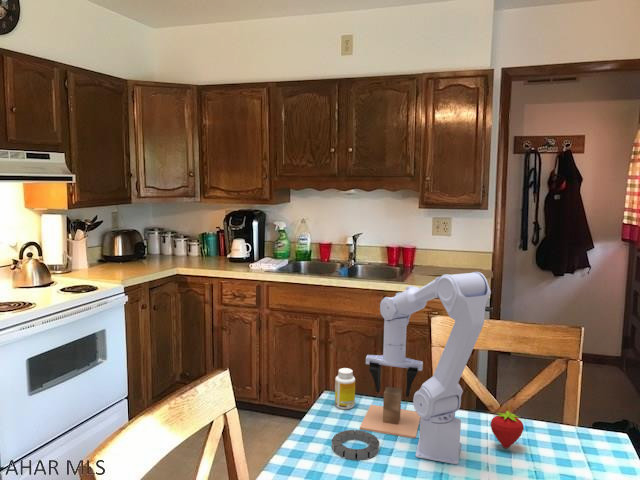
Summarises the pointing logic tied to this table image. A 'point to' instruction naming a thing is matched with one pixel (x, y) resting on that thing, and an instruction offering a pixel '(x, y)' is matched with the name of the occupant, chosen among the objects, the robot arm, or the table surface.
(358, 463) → the table surface
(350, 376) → the supplement bottle
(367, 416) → the terracotta tile
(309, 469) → the table surface
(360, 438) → the holder ring
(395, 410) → the link block
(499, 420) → the strawberry
